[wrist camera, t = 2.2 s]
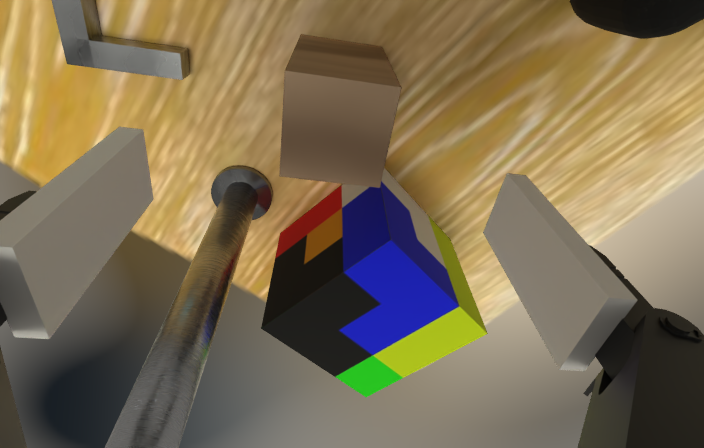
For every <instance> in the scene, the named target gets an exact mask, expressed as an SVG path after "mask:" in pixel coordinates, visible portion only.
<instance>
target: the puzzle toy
mask: <svg viewBox="0 0 704 448" xmlns="http://www.w3.org/2000/svg"><path fill="white" fill-rule="evenodd" d="M261 329H263V330H264V331H266V332H268V333H269V334H271V335H272V336H274V337H275V338H277V339H278V340H280V341H281V342H283V343H284V344H286V345H287V346H289V347H290V348H292V349H293V350H295V351H296V352H298V353H300V354H301V355H303V356H304V357H306V358H307V359H309V360H310V361H312V362H313V363H315V364H316V365H318V366H319V367H321V368H322V369H324V370H325V371H327V372H329V373H330V374H332V375H333V376H335V377H336V378H338V379H339V380H341V381H342V382H344V383H345V384H347V385H348V386H350V387H351V388H353V389H354V390H356V391H357V392H359V393H361V394H362V395H364V396H365V397H367V396H369V395H371V394H373V393H375V392H377V391H379V390H381V389H383V388H384V387H387V386H388V385H390V384H392V383H394V382H396V381H398V380H400V379H402V378H404V377H406V376H408V375H410V374H411V373H413V372H415V371H417V370H419V369H421V368H423V367H425V366H427V365H429V364H431V363H433V362H434V361H436V360H438V359H440V358H442V357H444V356H446V355H448V354H450V353H452V352H454V351H456V350H457V349H459V348H461V347H463V346H465V345H467V344H469V343H471V342H473V341H475V340H476V339H478V338H480V337H482V336H484V335H486V334H487V331H486V328H485V326H484V323H483V321H482V318H481V316H480V313H479V311H478V308H477V306H476V303H475V301H474V298H473V296H472V293H471V291H470V288H469V285H468V283H467V280H466V278H465V275H464V273H463V270H462V268H461V265H460V263H459V260H458V258H457V255H456V253H455V250H454V248H453V245H452V243H451V240H450V239H449V238H448V237H447V236H446V235H445V233H444V232H443V231H442V230H441V229H440V228H439V227H438V226H437V225H436V224H435V223H434V221H433V220H432V219H431V218H430V217H429V216H428V215H427V214H426V213H425V212H424V211H423V209H422V208H421V207H420V206H419V205H418V204H417V203H416V202H415V201H414V200H413V199H412V197H411V196H410V195H409V194H408V193H407V192H406V191H405V190H404V189H403V188H402V187H401V185H400V184H399V183H398V182H397V181H396V180H395V179H394V178H393V177H392V176H391V174H390V173H389V172H388V171H387V170H386V169H385V168H384V171H383V176H382V180H381V185H380V188H377V187H368V186H359V185H351V184H342V185H341V186H340V187H338V188H337V189H336V190H335V191H333V192H332V193H331V194H330V195H328V196H327V197H326V198H325V199H323V200H322V201H321V202H319V203H318V204H317V205H316V206H314V207H313V208H312V209H311V210H309V211H308V212H307V213H305V214H304V215H303V216H302V217H300V218H299V219H298V220H297V221H295V222H294V223H293V224H292V225H290V226H289V227H288V228H286V229H285V230H284V231H283V232H281V233H280V238H279V243H278V248H277V253H276V258H275V263H274V268H273V273H272V278H271V282H270V287H269V292H268V297H267V302H266V307H265V313H264V317H263V323H262V327H261Z"/></svg>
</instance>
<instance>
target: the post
mask: <svg viewBox="0 0 704 448" xmlns="http://www.w3.org/2000/svg"><path fill="white" fill-rule="evenodd" d="M211 194H212V199H213V201H214V203H215V205H216V206H217V210H216V212H215V214H214V216H213V218H212V220H211V223H210V225H209V227H208V229H207V231H206V233H205V235H204V237H203V240H202V242H201V244H200V246H199V248H198V250H197V252H196V255H195V257H194V259H193V261H192V263H191V265H190V267H189V269H188V272H187V274H186V276H185V278H184V280H183V282H182V284H181V286H180V289H179V291H178V293H177V295H176V297H175V299H174V301H173V303H172V306H171V308H170V310H169V312H168V314H167V316H166V319H165V321H164V323H163V325H162V327H161V329H160V331H159V333H158V335H157V338H156V340H155V342H154V344H153V346H152V348H151V351H150V352H149V355H148V357H147V359H146V361H145V363H144V365H143V368H142V370H141V372H140V374H139V376H138V378H137V380H136V382H135V384H134V387H133V389H132V391H131V393H130V395H129V397H128V399H127V401H126V404H125V406H124V408H123V410H122V412H121V414H120V417H119V419H118V421H117V423H116V425H115V427H114V429H113V431H112V433H111V436H110V438H109V440H108V442H107V444H106V446H105V448H178V447H179V444H180V441H181V438H182V435H183V431H184V429H185V425H186V422H187V419H188V416H189V413H190V410H191V407H192V404H193V401H194V398H195V394H196V391H197V388H198V385H199V382H200V379H201V376H202V373H203V369H204V366H205V363H206V360H207V357H208V354H209V351H210V348H211V345H212V341H213V338H214V335H215V332H216V329H217V326H218V323H219V320H220V316H221V313H222V310H223V307H224V304H225V300H226V298H227V295H228V291H229V288H230V285H231V282H232V279H233V276H234V273H235V270H236V267H237V263H238V260H239V257H240V254H241V251H242V248H243V245H244V242H245V238H246V235H247V232H248V229H249V226H250V223H251V220H254V219H257V218H259V217H261V216H263V215H264V214H265V213H266V212H267V211H268V209H269V207H270V205H271V201H272V196H273V193H272V188H271V185H270V183H269V181H268V180H267V179H266V177H265V176H264V175H263V174H261V173H260V172H259V171H257V170H255V169H253V168H250V167H246V166H232V167H229V168H226V169H224V170H223V171H221V172H220V173H219V174H218V175H217V177H216V179H215V180H214V182H213V185H212V189H211Z"/></svg>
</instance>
